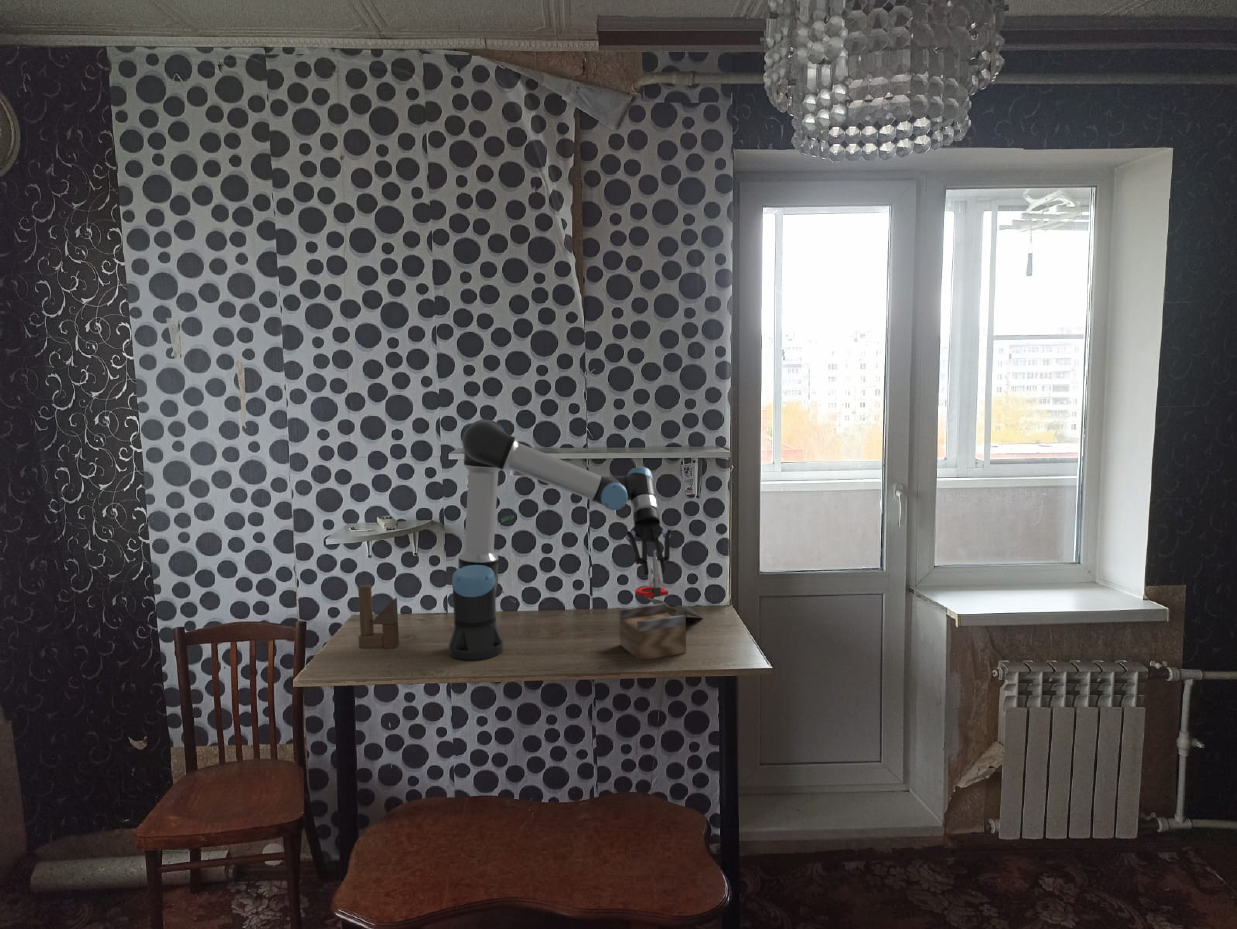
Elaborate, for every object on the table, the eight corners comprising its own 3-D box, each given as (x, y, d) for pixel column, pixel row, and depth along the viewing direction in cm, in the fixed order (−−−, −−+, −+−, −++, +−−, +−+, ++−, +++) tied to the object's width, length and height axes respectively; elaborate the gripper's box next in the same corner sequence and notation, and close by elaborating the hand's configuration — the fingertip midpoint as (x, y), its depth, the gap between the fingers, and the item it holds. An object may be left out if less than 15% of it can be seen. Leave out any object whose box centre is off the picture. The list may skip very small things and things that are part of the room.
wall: (646, 630, 252) (636, 610, 240) (655, 605, 256) (646, 585, 244) (694, 644, 245) (687, 624, 233) (703, 619, 249) (696, 598, 237)
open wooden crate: (639, 660, 213) (639, 622, 212) (620, 644, 226) (619, 609, 224) (686, 653, 218) (685, 616, 217) (664, 638, 231) (664, 603, 230)
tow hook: (630, 592, 223) (643, 599, 214) (628, 547, 222) (641, 552, 213) (657, 589, 226) (671, 595, 217) (656, 544, 225) (669, 549, 216)
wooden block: (395, 648, 226) (392, 587, 224) (358, 648, 227) (355, 587, 225) (399, 644, 229) (396, 584, 228) (363, 644, 230) (360, 584, 228)
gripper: (669, 520, 234) (681, 589, 220) (619, 522, 233) (627, 592, 218) (672, 505, 228) (685, 575, 214) (620, 507, 227) (629, 578, 212)
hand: (656, 583), depth 216 cm, fingers closed on tow hook, 2 cm apart
